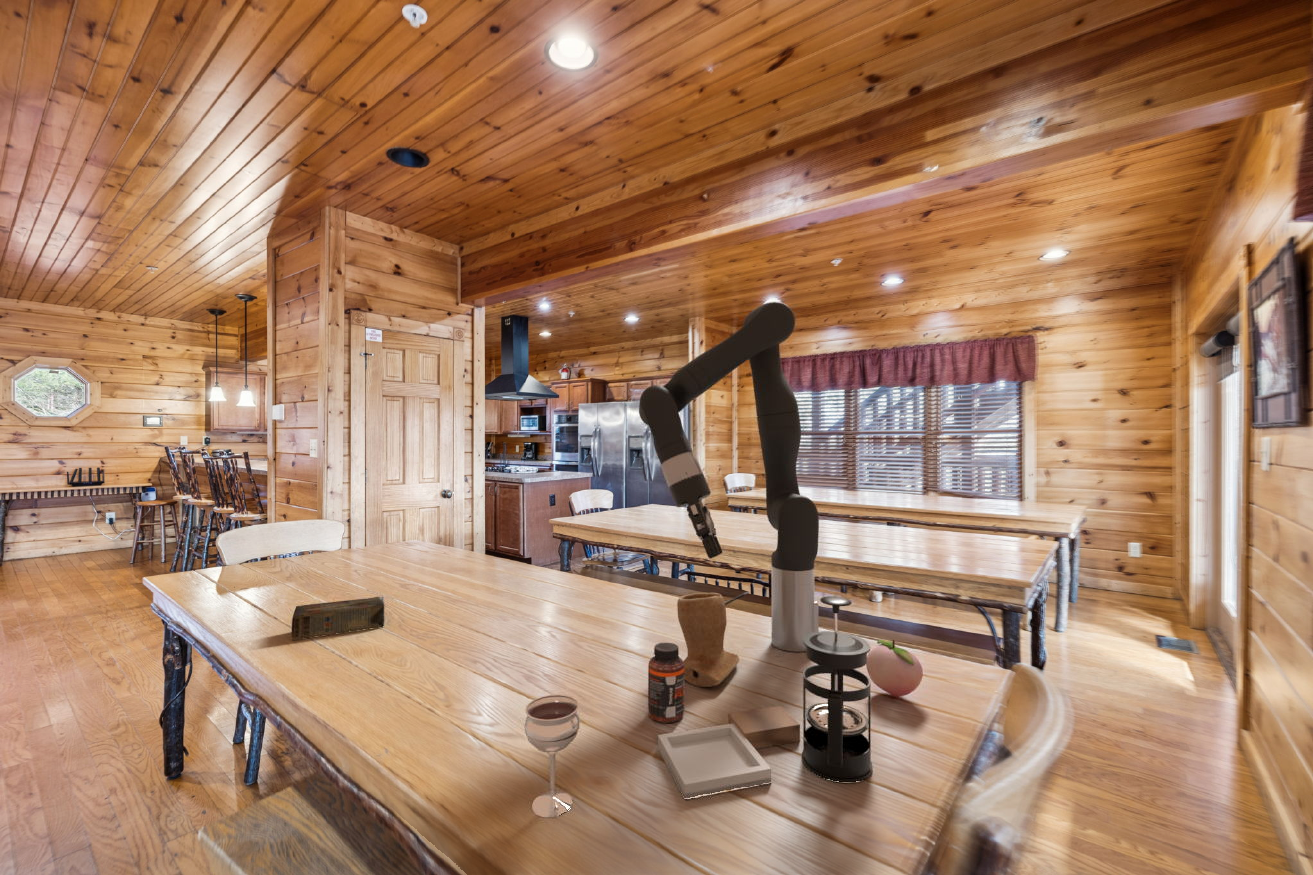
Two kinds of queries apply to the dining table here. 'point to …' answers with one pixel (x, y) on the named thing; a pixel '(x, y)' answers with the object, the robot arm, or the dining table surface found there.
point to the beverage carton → (337, 617)
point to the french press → (836, 705)
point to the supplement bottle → (666, 684)
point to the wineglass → (552, 743)
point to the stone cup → (705, 639)
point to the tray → (712, 760)
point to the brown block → (766, 726)
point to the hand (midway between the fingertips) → (716, 556)
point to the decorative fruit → (894, 669)
